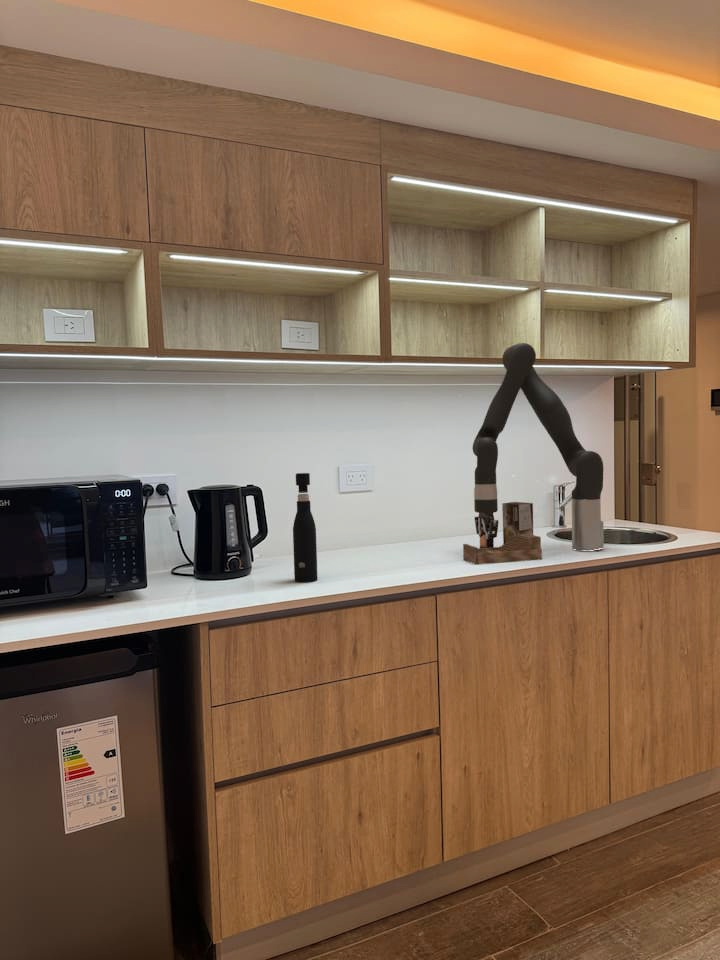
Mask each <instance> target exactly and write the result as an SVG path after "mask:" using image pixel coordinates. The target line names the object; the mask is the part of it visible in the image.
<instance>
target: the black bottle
mask: <svg viewBox="0 0 720 960" xmlns="http://www.w3.org/2000/svg"><path fill="white" fill-rule="evenodd" d="M310 474H311V473H309V472H299V473H296V474H295V485H296V486H298V494H297V501H296V514H295V517H294V520H293V526H292V543H293V544H292V545H293V567H294V568H293V569H294V572H293V574H294V576H293V577H294V582H296V583H303V584H304V583H305V584H306V583H313V582H317V581H318V579H319V578H318V552H317V549H318V548H317V527H316V523H315V520H314V516H313V514H312V511H311V509H312V508H311V500H310V495H309V493H308V492H309V490H308V486H310V485H311V482H310V481H311V479H310V478H311V477H310Z"/></svg>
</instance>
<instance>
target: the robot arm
mask: <svg viewBox="0 0 720 960" xmlns="http://www.w3.org/2000/svg"><path fill="white" fill-rule="evenodd" d="M536 355H537V354H536V351H535V349H534V347H533V346H532V345H531V344H529V343H526V342H519V343H517V344H514V345H512V346H509V347H507V348H506V349H505V350H504V352H503V354H502V357H501V358H502V360H501V361H502V364H503V367H504V368H505V370H506V371H505V375H504V377H503V380H502V382H501V385H500V386H499V388H498V389H497V392H496V393H495V395H494V396H493V398H492V400H491V403H490V404H489V407H488V409H487V411H486V414H485V417H484V419H483V422H482V425H481V427H480V429H479V430H478V432H477V434H476V436H475V438H474V441H473V443H472V452H473V455H474V456H476V468H475V469H474V488H473V494H474V495H473V497H474V498H473V499H474V501H473V502H474V508H473V509H474V512H475V513H478V516H474V524H475V532H476V535H478V537H479V539H480V538H481V536H483V535H485V534H486V538H487V539H486V548H494V547H495V545H494V543H495V542H494V543H493V540H495V538H497V537H498V530H499V519H495V517H494V513H497V512H498V510H499V509H498V507H499V506H498V504H499V503H498V487H497V471H496V470H497V465H498V458H499V447H498V443H497V439H498V437H499V435H500V434H501V433H502V432H503V431H504V430H505V427H506V424H507V422H508V419H509V416H510V413H511V411H512V408H513V405H514V403H515V401H516V399H517V396H518V394H519V392H520V390H521V391H522V392H523V395H524V397H525V398H526V400H527V401H528V404H529V405H530V406H531V408H532V410H533V411H534V414H535V416H537V418H538V420H539V422H540V423H541V425H542V426H543V428H544V429H545V430H546V432H547V434H548V435H549V437H550V439H552V441H553V443H554V444H555V446H556V447H557V449H558V451H559V453H560V454H561V457H562V459H563V461H564V463H565V465H566V467H567V469H568V471H569V472H570V474H572V476H574V477H575V481H576V482H575V486H574V488H573V489H572V490H571V546H572V547H571V549H572V550H573V549H576V550H594V549H599V548H603V547H604V546H605V545H604V543H605V542H604V539H605V538H604V534H605V533H604V521H603V520H602V519H601V518H602V517H601V516H602V514H601V509H602V508H601V507H602V506H601V505H602V504H601V501H602V499H601V498H602V497H601V494H602V492H603V488H604V461H603V459H602V456H600V454H599V453H597V451H594V450H593V451H592V450H586V449H585V448H584V447H583V446H582V444H581V442H580V441H579V440H578V438H577V436H576V433H575V430H574V426H573V422H572V418H571V416H570V413H569V411H568V409H567V407H566V406H565V404H564V403H563V401H562V400H561V398H560V397H559V395H558V394H557V393H556V392H555V391H554V390H553V389H552V388H551V387H549V385H548V384H547V383H545V382H544V380H543V379H541V377H540V375H538V373H537V371H536V369H535V368H534V365H535V363H536V359H537V356H536ZM480 547H482V546H481V544H480V543H479V548H480ZM604 548H605V547H604ZM576 550H575V551H576Z"/></svg>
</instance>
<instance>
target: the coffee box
mask: <svg viewBox="0 0 720 960" xmlns="http://www.w3.org/2000/svg"><path fill="white" fill-rule="evenodd" d="M501 505H502V539H503V540H502V541H503V544H502V545H504V543H507V541H510V540H512V538H515V536H517V535H518V534H531V535H534V503H533V502H523V501H511V502H502V503H501Z"/></svg>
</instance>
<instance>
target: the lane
mask: <svg viewBox="0 0 720 960" xmlns="http://www.w3.org/2000/svg"><path fill="white" fill-rule="evenodd" d="M541 539H542V538H541V536H538V535H535V534H533V535H531V534H518V535H517V536H515V538H512V540H510V541H507V543H504V545H503V544H501V546H497V547H495V546H494V548H480V547H479V548H478V547H477V546H473V545H471V544H469V543H463V544H462V547H463V548H462V550H463V552H462V553H463V557H462V559H463V560H464V561H466V560H467V561H466V562H468V561H469V562H468V563H471V562H472V563H471V564H473V563H474V565H483V564H482V563H487V564H498V563H499V562H500V563H509V562H510V563H512V562H525V560H527V561H537V560H538V559H540V560H542V559H543V551H542V543H541V542H542V540H541Z"/></svg>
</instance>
